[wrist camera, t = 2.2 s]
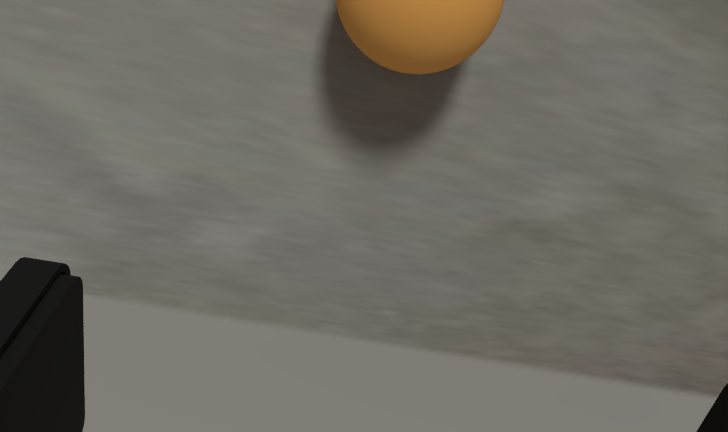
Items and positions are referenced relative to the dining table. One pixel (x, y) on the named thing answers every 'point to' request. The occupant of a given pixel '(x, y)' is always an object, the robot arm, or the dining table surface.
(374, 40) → the ball
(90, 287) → the dining table surface
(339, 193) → the dining table surface
